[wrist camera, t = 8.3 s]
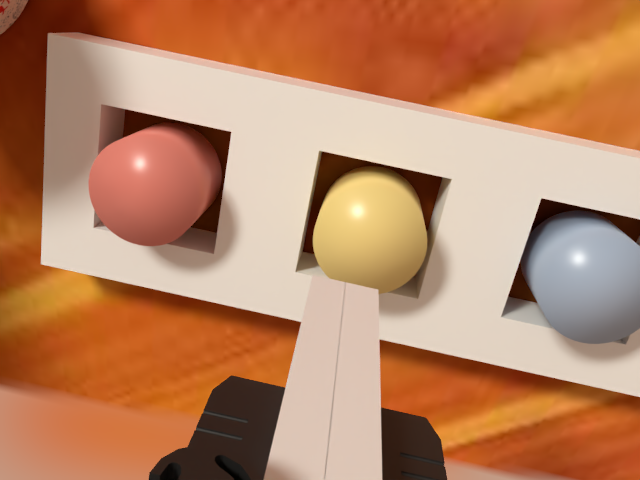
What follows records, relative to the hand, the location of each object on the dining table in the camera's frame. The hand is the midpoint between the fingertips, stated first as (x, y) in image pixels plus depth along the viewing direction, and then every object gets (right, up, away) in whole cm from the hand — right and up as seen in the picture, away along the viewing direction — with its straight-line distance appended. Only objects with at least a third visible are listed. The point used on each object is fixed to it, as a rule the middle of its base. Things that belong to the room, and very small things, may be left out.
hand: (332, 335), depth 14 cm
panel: (+2, +3, +13) cm, 14 cm away
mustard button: (+2, +3, +13) cm, 13 cm away
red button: (-7, +5, +13) cm, 16 cm away
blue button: (+11, +1, +12) cm, 17 cm away
